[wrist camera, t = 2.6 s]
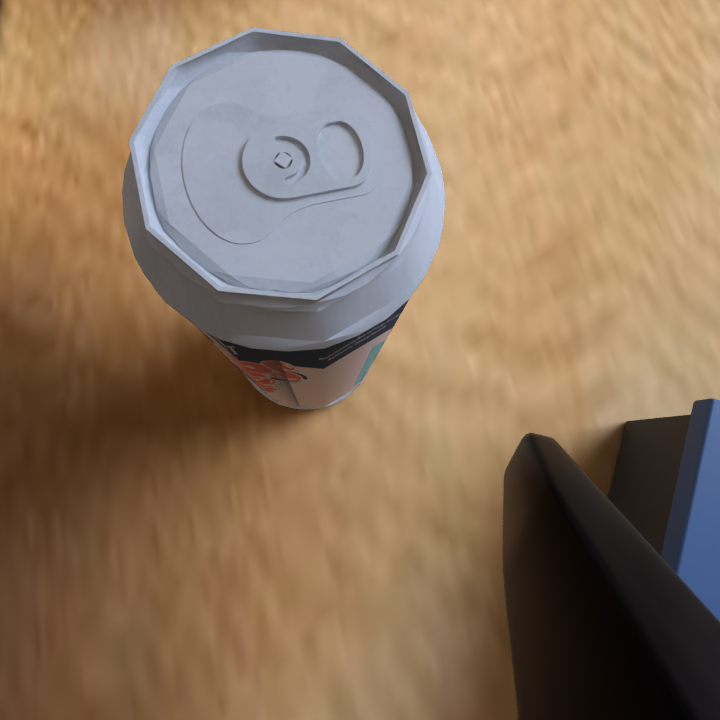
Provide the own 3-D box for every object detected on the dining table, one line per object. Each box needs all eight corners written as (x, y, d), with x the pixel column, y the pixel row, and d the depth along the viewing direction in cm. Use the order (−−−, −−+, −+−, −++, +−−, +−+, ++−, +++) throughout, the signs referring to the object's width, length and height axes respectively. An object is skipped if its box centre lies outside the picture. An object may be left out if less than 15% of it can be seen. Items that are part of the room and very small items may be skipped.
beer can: (226, 293, 19) (67, 27, 7) (356, 267, 19) (410, -24, 8) (254, 425, 18) (128, 375, 6) (388, 393, 19) (504, 291, 7)
